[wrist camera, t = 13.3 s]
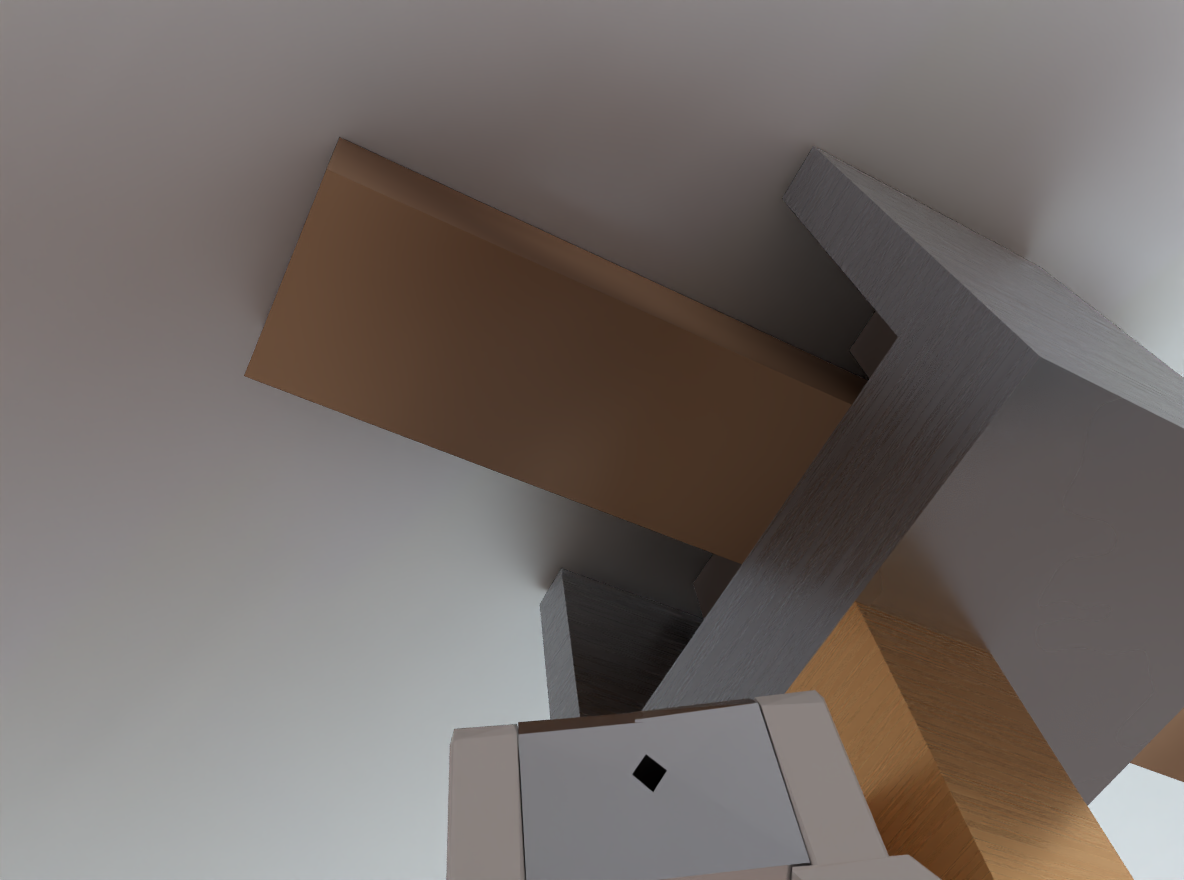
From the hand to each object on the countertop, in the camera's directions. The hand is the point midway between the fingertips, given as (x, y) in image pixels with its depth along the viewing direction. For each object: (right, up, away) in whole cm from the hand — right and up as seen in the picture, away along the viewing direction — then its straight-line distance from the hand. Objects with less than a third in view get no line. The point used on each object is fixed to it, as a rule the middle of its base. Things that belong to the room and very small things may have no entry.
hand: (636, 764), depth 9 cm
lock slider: (+2, +3, +8) cm, 9 cm away
